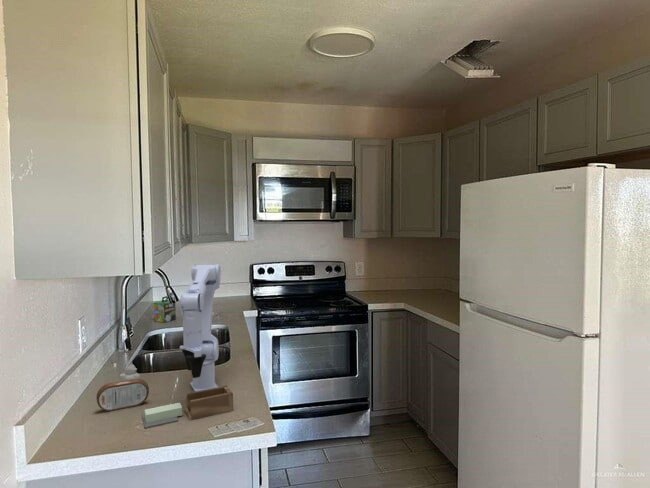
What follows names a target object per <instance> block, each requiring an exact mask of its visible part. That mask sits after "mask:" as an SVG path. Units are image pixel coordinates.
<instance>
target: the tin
mask: <svg viewBox="0 0 650 488" xmlns="http://www.w3.org/2000/svg"><path fill="white" fill-rule="evenodd" d="M149 394H150V388H149V384H148V383H147V382H146V381H145V380H144V379H141V378H139V379H131V380H124V381H121V380H119V381H112V382H108V383H105V384H104V385H102V386H101V387H100V388H99V389H98V390H97V393H96V398H95V399H96V404H97V406H98V407H99V408H100V409H101V410H103V411H106V412H107V411H108V412H111V411H117V410H122V409H123V410H124V409H127V408H132V407H133V408H134V407H138V406H141V405H142V404H144V403H145V401H147V399H148V397H149Z"/></svg>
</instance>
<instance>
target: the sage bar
mask: <svg viewBox="0 0 650 488" xmlns="http://www.w3.org/2000/svg"><path fill="white" fill-rule="evenodd" d="M144 414H145V420H146V423H149V422H154V421H159V420H163V419H168V418H172V417H177V418H178V417H181V416H183V407H182V405H181V403H180V402H175V403H170V404H166V405H160V406H157V407H153V408H152V407H151V408H146V409H144Z"/></svg>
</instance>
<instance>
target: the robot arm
mask: <svg viewBox="0 0 650 488" xmlns="http://www.w3.org/2000/svg"><path fill="white" fill-rule="evenodd" d="M221 269H222V268H221V265H220V264H219V263H216V264H193V265H192V266H191V270H190V271H191V280H192V281H191V282H190V283H189V285H188V287H187V290H186V291H185V293H183V294H181V295H180V297H179V299H180V300H179V309H180V312H181V313H180V314H181V318H182V328H183V329H182V331H183V332H182V334H183V335H182V336H183V338H182V339H183V345H179V349H180V350H181V352H182V353H183V356H184V359H185V363H186V367H187V370H188V371H191V377H192V381H191V382H190V381H189V382H190V383H189V384H190V386H191V387H192V389H193V392H196V391H201V390H206V389H211V388H216V387H219V386H218V384H217V383H216V377H215V376H216V374H215V373H216V372H215V369H216V368H215V362H216V361H217V360H218V359H219V354H220V353H219V351H220V349H219V339H218V338H217V337H216V336H215V335H214V334H212V323H213V322H212V321H213V310H214V297H215V296H214V295H215V293H216V290H217V289H219V288H220V286H221V277H222V275H221V272H222V270H221Z"/></svg>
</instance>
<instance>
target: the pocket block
mask: <svg viewBox="0 0 650 488" xmlns="http://www.w3.org/2000/svg"><path fill="white" fill-rule="evenodd" d="M232 411H234V392H232V390H231V389H230V388H229V387H228V385H222V386H218V387H216V388H211V389H206V390H201V391H196V392H195V391H192V392H187V393H186V406H185V407H184V413H185V414H186V416H187V419H188V421H193V420H198V419H200V418H205V417H210V416H214V415H218V414H224V413H228V412H232Z"/></svg>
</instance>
